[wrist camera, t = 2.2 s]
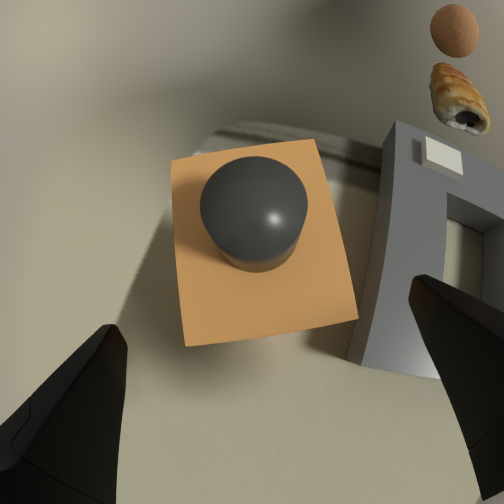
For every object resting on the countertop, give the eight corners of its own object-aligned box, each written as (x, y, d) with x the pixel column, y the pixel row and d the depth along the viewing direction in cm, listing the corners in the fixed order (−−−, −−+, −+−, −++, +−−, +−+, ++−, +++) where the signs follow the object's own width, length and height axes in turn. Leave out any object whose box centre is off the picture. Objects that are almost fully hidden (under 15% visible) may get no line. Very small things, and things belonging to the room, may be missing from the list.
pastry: (417, 65, 23) (428, 41, 19) (464, 85, 22) (478, 65, 19) (433, 124, 21) (451, 98, 17) (485, 146, 20) (505, 125, 16)
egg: (464, 75, 23) (489, 30, 15) (419, 47, 24) (439, -2, 16) (466, 57, 24) (487, 17, 16) (426, 32, 25) (443, -10, 17)
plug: (298, 326, 17) (386, 314, 4) (237, 336, 17) (159, 351, 4) (286, 255, 18) (322, 98, 5) (227, 264, 18) (151, 123, 5)
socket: (497, 382, 14) (528, 386, 11) (345, 360, 16) (365, 367, 12) (509, 200, 18) (533, 183, 15) (383, 143, 20) (399, 112, 16)
